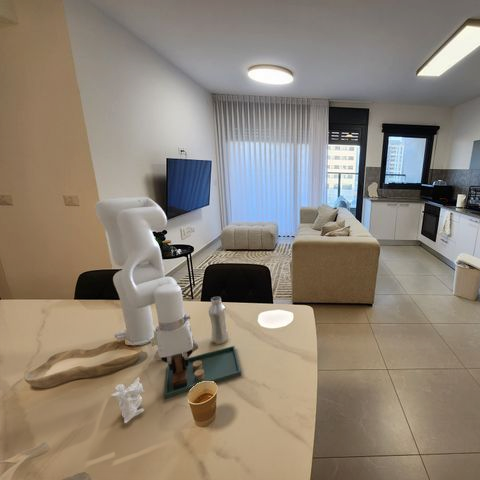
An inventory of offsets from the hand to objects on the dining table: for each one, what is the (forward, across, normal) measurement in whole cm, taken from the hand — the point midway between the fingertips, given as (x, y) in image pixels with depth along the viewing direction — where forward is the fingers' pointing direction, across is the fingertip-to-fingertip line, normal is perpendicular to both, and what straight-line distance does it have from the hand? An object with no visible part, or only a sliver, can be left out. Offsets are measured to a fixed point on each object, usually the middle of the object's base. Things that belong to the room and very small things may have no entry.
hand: (179, 368), depth 89 cm
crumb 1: (+4, -5, -2) cm, 7 cm away
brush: (+4, 0, 0) cm, 4 cm away
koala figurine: (+5, +13, +9) cm, 16 cm away
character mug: (+5, +5, -15) cm, 16 cm away
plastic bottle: (+5, -14, -16) cm, 22 cm away
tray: (+4, -7, 0) cm, 9 cm away
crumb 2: (+4, -6, +2) cm, 7 cm away
